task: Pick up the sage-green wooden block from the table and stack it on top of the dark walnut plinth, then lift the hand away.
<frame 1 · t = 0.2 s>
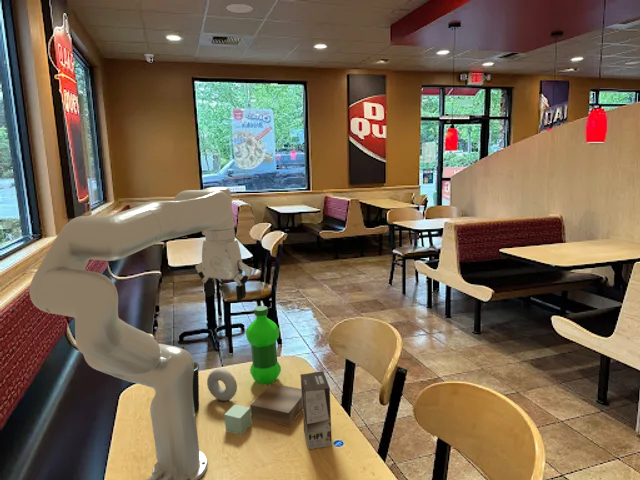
hand: (226, 297, 119), 35 cm above the table, tool pointing down, fingers open, 9 cm apart
drinking cup: (190, 411, 130), on the table
walnut plinth: (280, 409, 128), on the table
green block: (238, 427, 121), on the table
donut: (223, 400, 135), on the table
coffee box: (317, 437, 116), on the table
plastic bottle: (266, 381, 145), on the table
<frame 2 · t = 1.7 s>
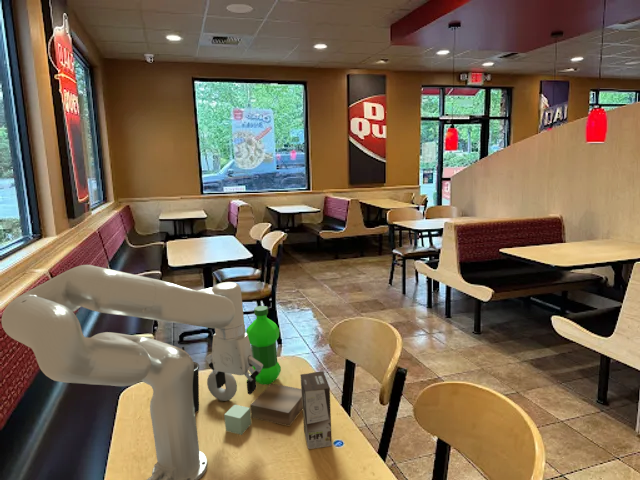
hand: (236, 388, 119), 11 cm above the table, tool pointing down, fingers open, 9 cm apart
nothing on the table moved.
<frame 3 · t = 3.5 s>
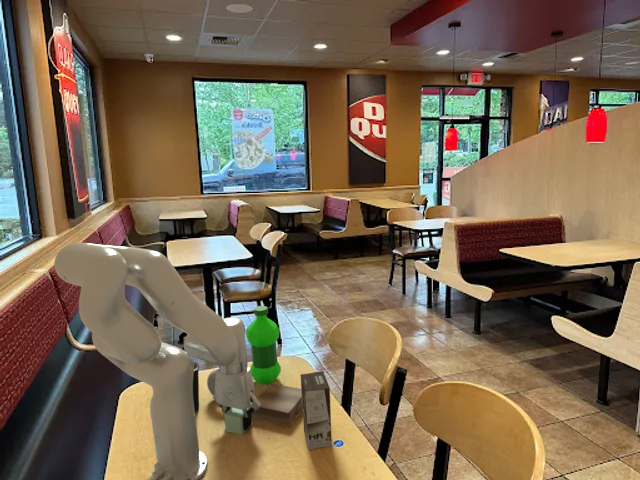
hand: (238, 424, 121), 1 cm above the table, tool pointing down, fingers closed on green block, 5 cm apart
green block: (238, 427, 121), on the table, touching gripper
everything else where it was.
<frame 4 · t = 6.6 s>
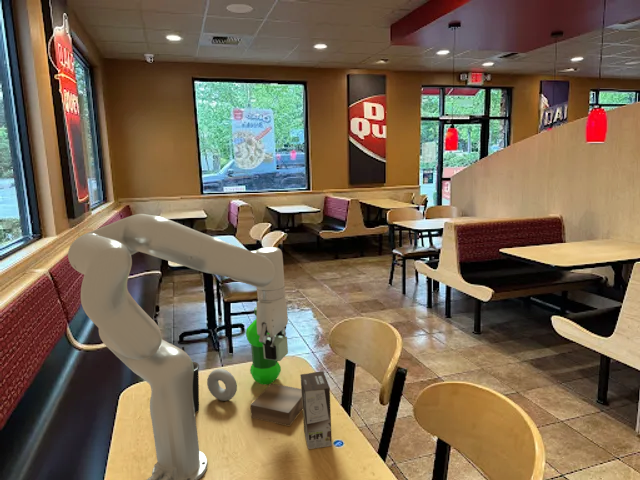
hand: (276, 353, 125), 18 cm above the table, tool pointing down, fingers closed on green block, 5 cm apart
green block: (276, 355, 125), point 17 cm above the table, touching gripper
everything else where it was.
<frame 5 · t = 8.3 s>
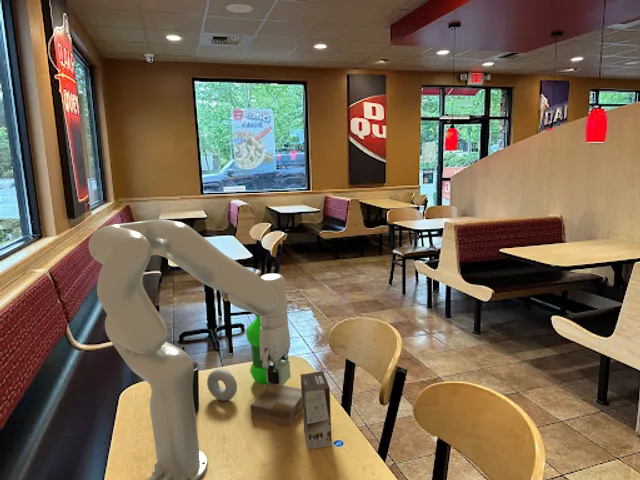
hand: (278, 377, 126), 10 cm above the table, tool pointing down, fingers closed on green block, 5 cm apart
green block: (278, 379, 127), point 9 cm above the table, touching gripper
everything else where it was.
when the fingers open (6 cm above the table, at t = 9.7 s): green block drops 1 cm, resting on walnut plinth.
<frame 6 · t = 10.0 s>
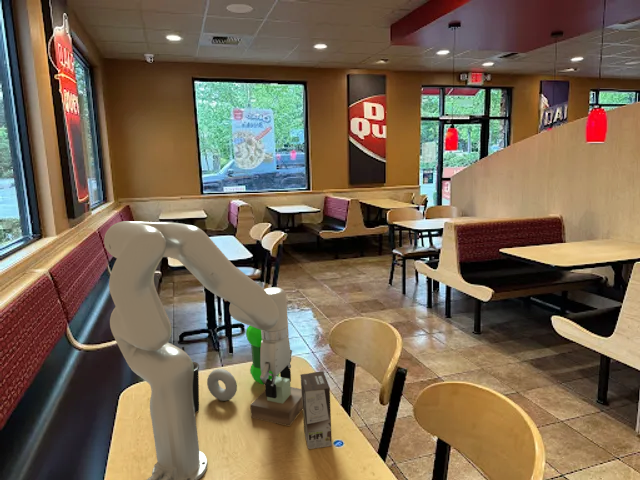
hand: (278, 388, 127), 7 cm above the table, tool pointing down, fingers open, 8 cm apart
green block: (279, 397, 127), point 4 cm above the table, touching walnut plinth
everything else where it was.
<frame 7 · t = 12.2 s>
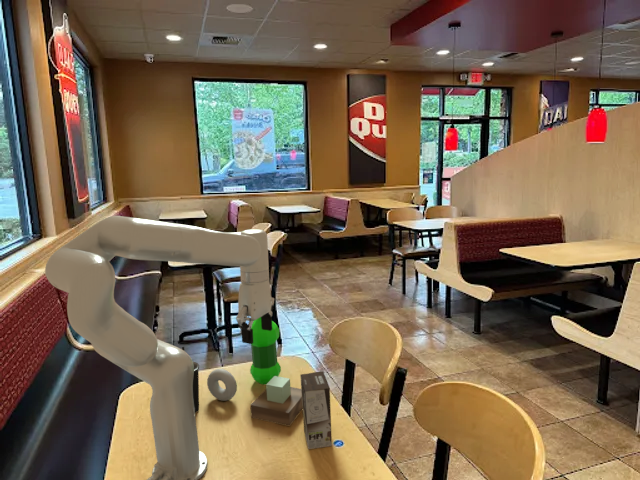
hand: (257, 336, 122), 24 cm above the table, tool pointing down, fingers open, 9 cm apart
nothing on the table moved.
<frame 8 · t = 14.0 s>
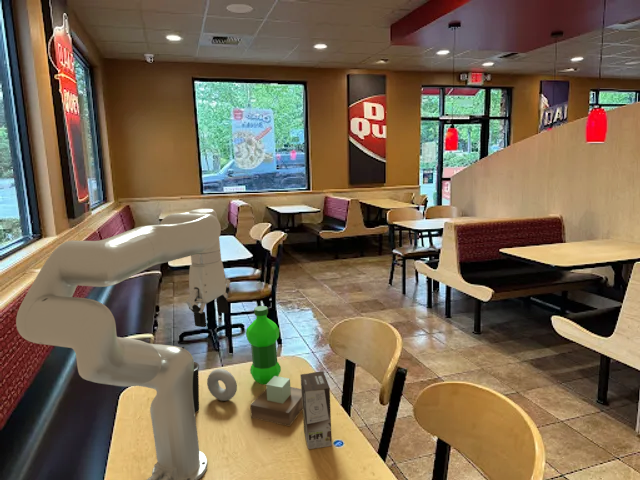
hand: (212, 319, 118), 30 cm above the table, tool pointing down, fingers open, 9 cm apart
nothing on the table moved.
at the end: green block inside the target area on the walnut plinth (0.1 cm from its centre), point 4.0 cm above the walnut plinth's base; green block tilted 0°; the gripper is holding nothing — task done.
